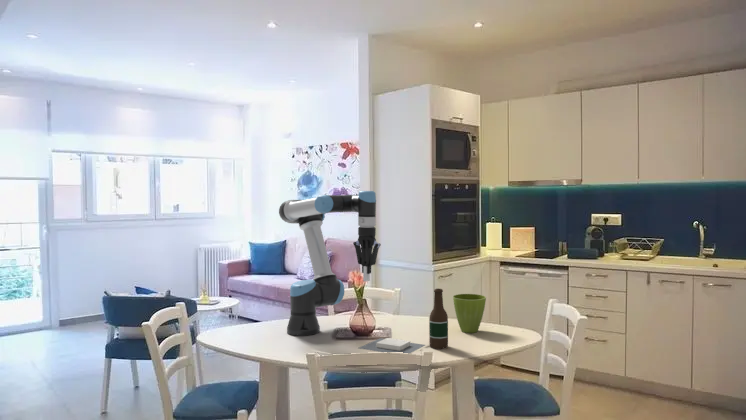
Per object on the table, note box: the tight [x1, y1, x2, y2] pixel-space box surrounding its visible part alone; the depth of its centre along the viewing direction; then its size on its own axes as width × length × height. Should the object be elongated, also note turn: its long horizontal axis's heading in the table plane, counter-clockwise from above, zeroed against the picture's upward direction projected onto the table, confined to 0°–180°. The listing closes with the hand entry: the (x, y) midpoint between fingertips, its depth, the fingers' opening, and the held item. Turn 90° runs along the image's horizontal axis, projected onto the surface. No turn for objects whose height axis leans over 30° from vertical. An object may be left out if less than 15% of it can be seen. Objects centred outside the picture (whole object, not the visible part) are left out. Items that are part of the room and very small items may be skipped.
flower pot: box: [452, 293, 487, 334], centre depth 254 cm, size 15×15×16 cm
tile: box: [376, 337, 411, 351], centre depth 227 cm, size 2×9×11 cm
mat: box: [358, 337, 426, 354], centre depth 227 cm, size 22×18×1 cm
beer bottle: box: [428, 288, 449, 350], centre depth 228 cm, size 8×8×24 cm
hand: (366, 280), depth 239 cm, fingers closed
